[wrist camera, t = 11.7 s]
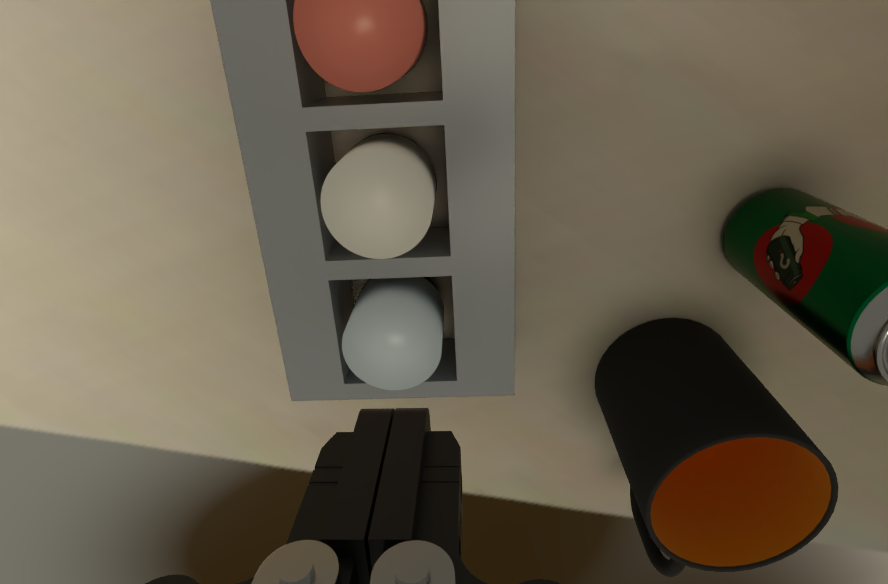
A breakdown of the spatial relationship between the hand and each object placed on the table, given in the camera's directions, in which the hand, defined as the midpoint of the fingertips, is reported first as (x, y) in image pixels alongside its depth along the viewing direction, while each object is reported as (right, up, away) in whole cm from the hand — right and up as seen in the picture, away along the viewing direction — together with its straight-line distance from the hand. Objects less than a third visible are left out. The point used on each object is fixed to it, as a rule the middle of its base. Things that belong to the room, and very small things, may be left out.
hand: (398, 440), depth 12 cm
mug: (+14, -3, +22) cm, 27 cm away
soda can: (+18, +7, +17) cm, 26 cm away
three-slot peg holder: (-2, +10, +17) cm, 19 cm away
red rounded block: (-2, +15, +12) cm, 19 cm away
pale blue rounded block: (-1, +2, +18) cm, 18 cm away
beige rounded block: (-2, +9, +15) cm, 17 cm away
